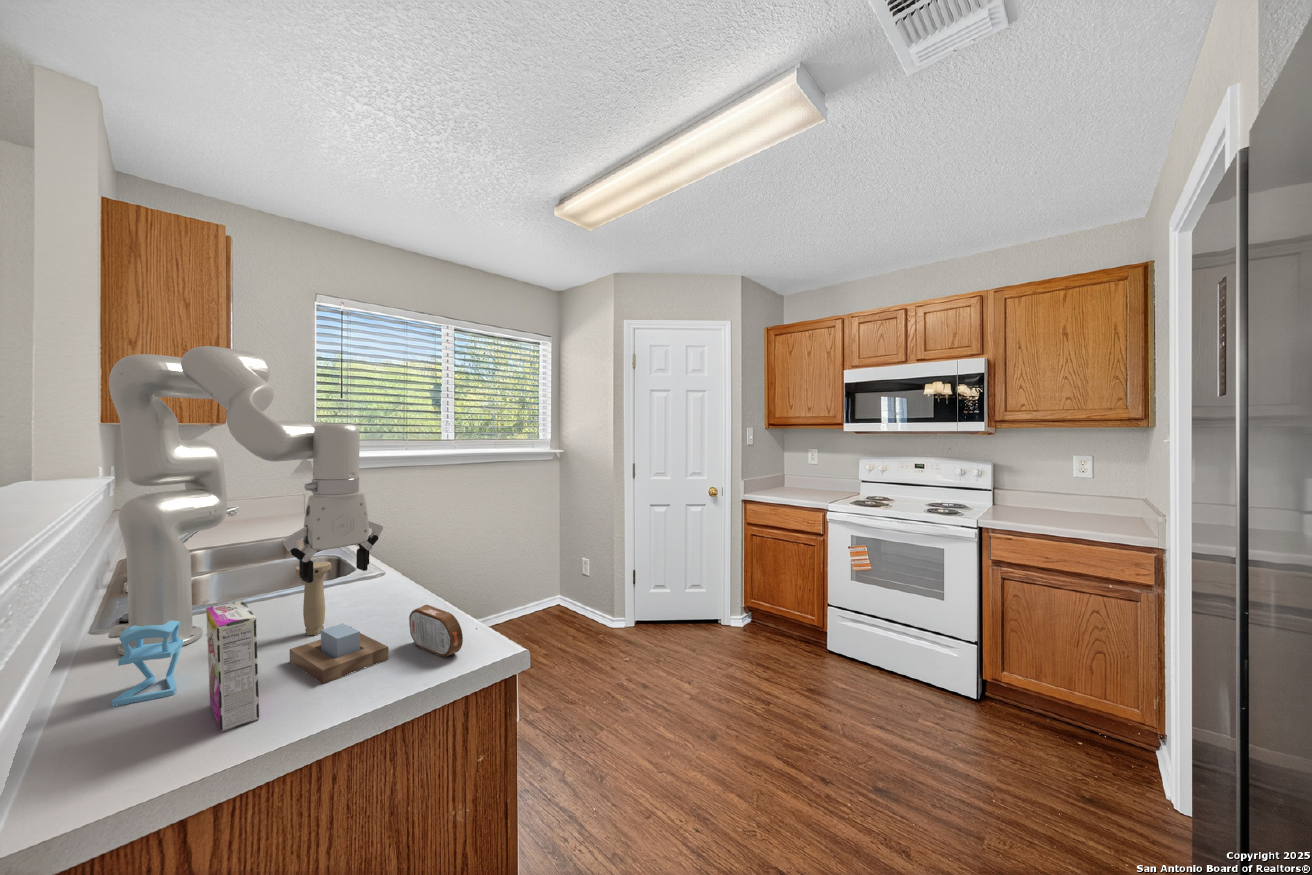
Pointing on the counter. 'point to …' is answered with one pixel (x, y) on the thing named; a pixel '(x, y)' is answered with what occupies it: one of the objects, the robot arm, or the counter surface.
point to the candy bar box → (232, 664)
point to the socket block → (337, 659)
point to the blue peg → (339, 640)
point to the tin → (435, 630)
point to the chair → (149, 658)
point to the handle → (315, 599)
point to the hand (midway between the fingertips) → (335, 575)
